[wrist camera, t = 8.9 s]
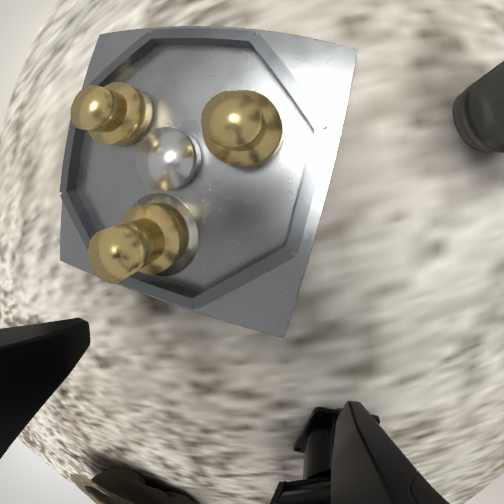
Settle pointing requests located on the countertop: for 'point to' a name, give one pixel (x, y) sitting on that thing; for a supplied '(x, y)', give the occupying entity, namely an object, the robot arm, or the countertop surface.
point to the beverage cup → (482, 112)
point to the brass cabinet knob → (140, 243)
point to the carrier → (210, 159)
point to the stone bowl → (125, 489)
